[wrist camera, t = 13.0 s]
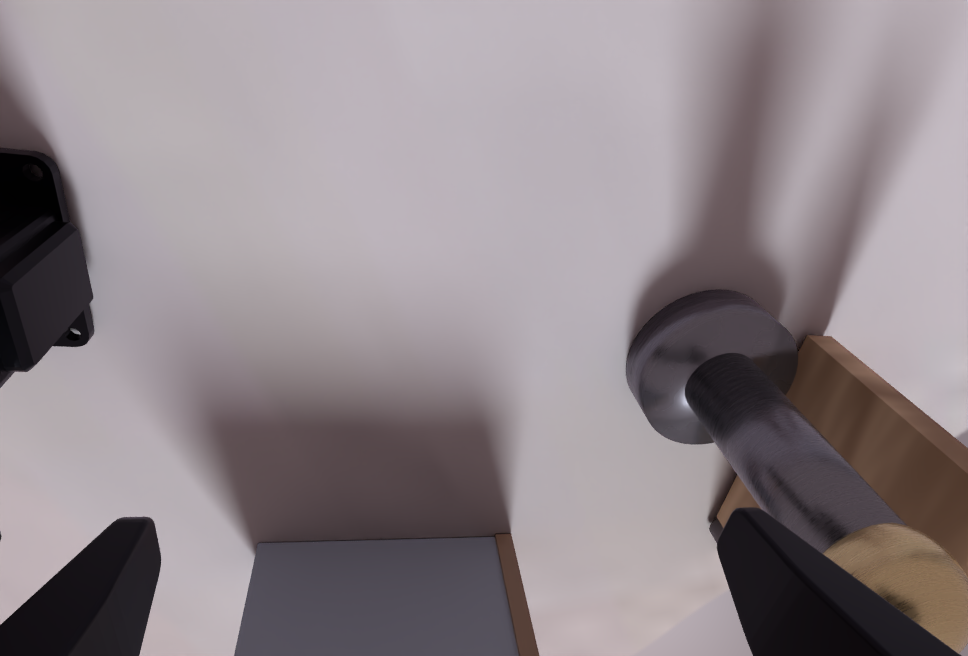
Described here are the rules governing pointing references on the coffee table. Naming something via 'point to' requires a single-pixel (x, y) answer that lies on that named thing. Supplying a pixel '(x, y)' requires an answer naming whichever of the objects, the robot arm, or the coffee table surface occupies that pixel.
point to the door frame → (387, 599)
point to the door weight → (785, 450)
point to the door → (878, 445)
